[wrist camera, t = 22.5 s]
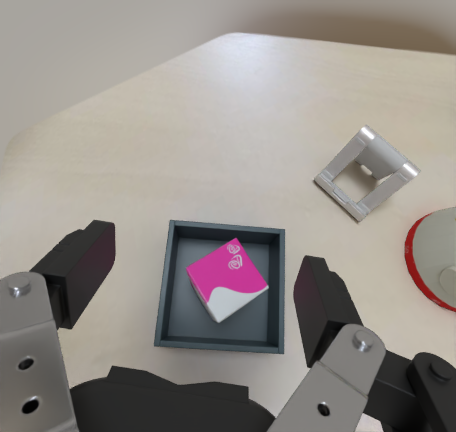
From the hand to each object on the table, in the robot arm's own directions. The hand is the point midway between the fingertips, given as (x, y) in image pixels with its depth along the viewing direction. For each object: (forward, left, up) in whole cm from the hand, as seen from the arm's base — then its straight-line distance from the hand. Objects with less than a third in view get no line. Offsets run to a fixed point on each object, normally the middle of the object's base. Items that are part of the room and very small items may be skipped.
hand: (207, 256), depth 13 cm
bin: (+2, +1, -27) cm, 27 cm away
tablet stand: (+20, +17, -27) cm, 37 cm away
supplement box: (+2, +1, -26) cm, 26 cm away
